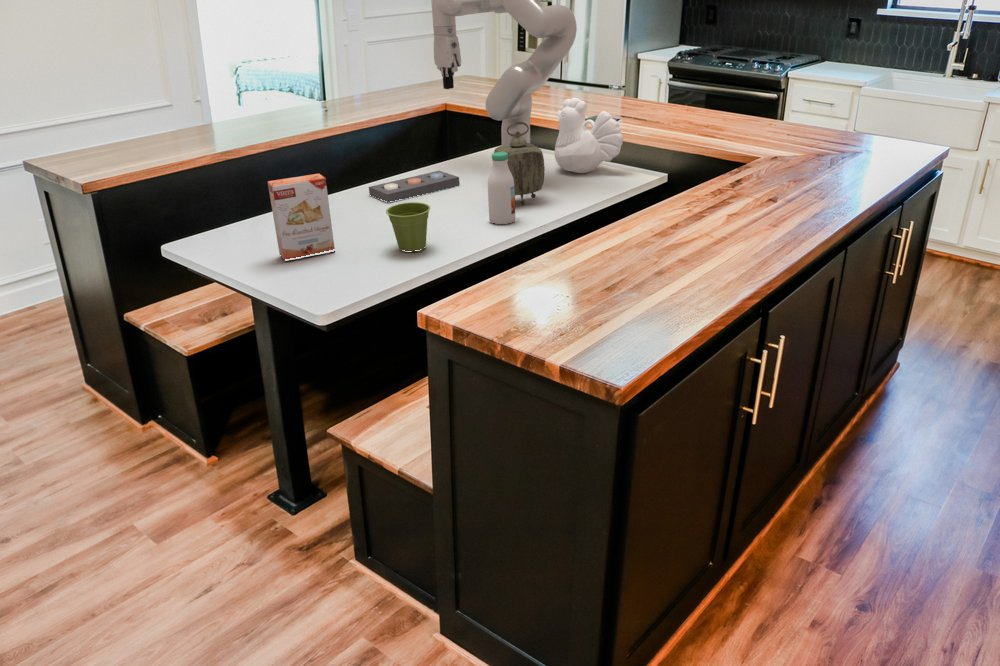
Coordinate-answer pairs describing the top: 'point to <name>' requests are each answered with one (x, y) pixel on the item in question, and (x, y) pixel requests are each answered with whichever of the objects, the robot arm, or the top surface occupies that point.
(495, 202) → the milk bottle
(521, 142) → the tabletop clock
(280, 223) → the cracker box
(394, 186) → the cream button
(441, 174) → the slate blue button
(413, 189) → the button panel
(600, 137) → the decorative rooster
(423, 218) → the plant pot
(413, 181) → the terracotta button
